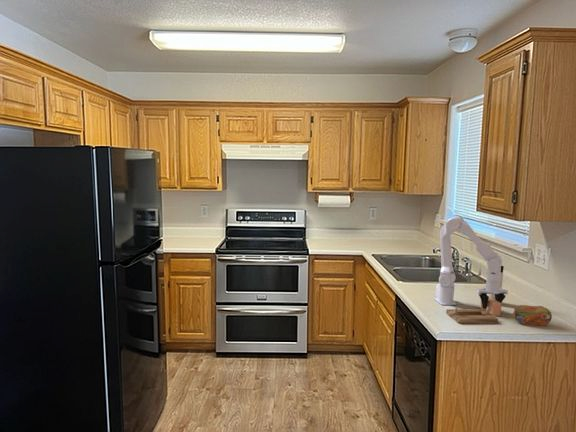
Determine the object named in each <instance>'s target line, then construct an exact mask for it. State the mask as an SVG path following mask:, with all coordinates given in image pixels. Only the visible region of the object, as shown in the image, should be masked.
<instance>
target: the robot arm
mask: <svg viewBox="0 0 576 432" xmlns="http://www.w3.org/2000/svg"><path fill="white" fill-rule="evenodd" d="M455 231H458V233H462V234H465V236H467V237H468V239H469V240H470V241H472V243H473V244H474V245H475V247H476V249H475V250H476V251H477V252H478V254H479V255H480V256H481V257H482V258H483V260H484V261H486V264H487V273H486V283H485V287H484V288H478V289H476V292H475V293H476V294H477V295H478V296H479V298H480V303H481V302H482V307H483V308H484V309H486V308H487V302H488V298H489V296H487V294H495V300H496V301H498V302H500V303H503V301H504V300H505V299H506V295H508V294H509V290H508V289H506V288H502V289H499V287H500V277H501V266H503V265H502V264H503V259H502V257H501V255H499V253H497V252H495V250H493V248H492V246H491V244H490V243H488V242H485V241H483V240H482V239H481V238H480V237H479V236H478V235H477V233H476V232H475V231H474V229H473V228H472V227H471V226H470V225H469V223H468V222H467V221H466V220H465V219H464V218H463V217H462V216H461V215H454V216H453V217H450V218H448V219H447V220H446V221H445V222H444V224H443V226H442V227H441V229H440V231H439V244H440V245H439V246H440V247H439V248H440V263H441V268H440V274H439V277H438V282H439V283H438V284H436V287H435V294H434V295H435V297H433V300H434V301H436V302H437V303H438V304H440V305H442V306H456V305H457V302H455V301H454V295H455V283H454V282H455V281H456V278H457V276H456V273H455V271H454V268H453V259H452V258H453V257H452V240H451V239H452V238H451V235H453V234H454V233H455Z"/></svg>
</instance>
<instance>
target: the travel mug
mask: <svg viewBox="0 0 576 432" xmlns="http://www.w3.org/2000/svg"><path fill="white" fill-rule="evenodd" d="M504 267H505V266H504V265H501V277H500V287H499V289H503V281H504V280H503V278H504ZM487 296H489V297H491V298H493V299H495V294H487Z"/></svg>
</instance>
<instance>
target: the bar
mask: <svg viewBox="0 0 576 432" xmlns="http://www.w3.org/2000/svg"><path fill="white" fill-rule="evenodd" d="M502 303H503V302H502ZM502 303H500V302H498V301H496V300H495V299H493V298H491V297H489V298H488V302H487V307H489V308H490V309H489V313H490V314H491V315H493V316H494V317H496V316H497V317H498V316H499V317H500V316H501V314H502V305H503V304H502ZM480 309H484V308H483V307H482V302H481V301H480ZM486 309H487V308H486ZM486 309H484V310H485V311H486Z"/></svg>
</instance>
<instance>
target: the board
mask: <svg viewBox="0 0 576 432" xmlns="http://www.w3.org/2000/svg"><path fill="white" fill-rule="evenodd" d="M489 309H490V308H489V307H487V309H486V311H485V310H484V309H481V308H477V309H476V308H470V309H468V308H467V309H465V308H464V309H463V308H462V309H461V308H460V309H459V308H458V307H454V309H450V308H449V309H448V308H447V309H446V310H445V313H446V315H448V316H449V317H450V318H451V319H452V320H454V321H455V322H456V323H457V324H465V325H466V324H468V325H469V324H498V323H499V318H497V317H496V316H493V315H491V314H490V313H489Z"/></svg>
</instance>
